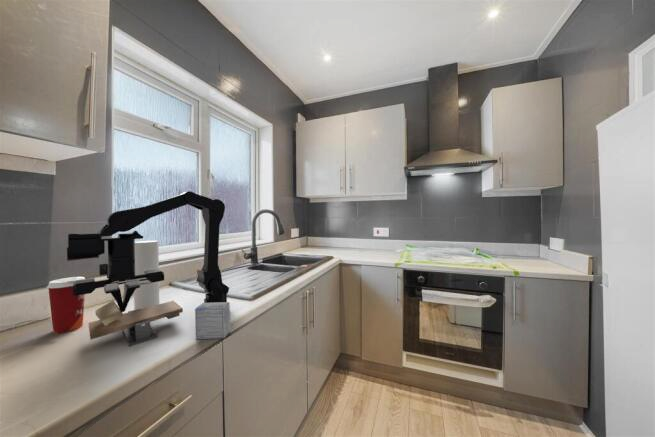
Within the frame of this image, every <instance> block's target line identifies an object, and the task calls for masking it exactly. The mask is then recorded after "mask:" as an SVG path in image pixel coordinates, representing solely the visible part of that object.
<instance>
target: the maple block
mask: <svg viewBox="0 0 655 437" xmlns="http://www.w3.org/2000/svg"><path fill="white" fill-rule="evenodd" d="M116 303H117V302H116V301H114V300H111V301H110V302H107V303H106V304H105V305H103V306H100V307H99V308H97V309H95V313H94V314H95V316H96V317H97V318H98V320H101V322H102V323H103V324H104V325H105V326H107V325H108V324H110V323H111V322H113V321H115V320H116V319H118V318H120V317H121V316H123V314H124V313H123V312H121V311H120V308H119V306H118V304H116Z"/></svg>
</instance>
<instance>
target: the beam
mask: <svg viewBox="0 0 655 437" xmlns="http://www.w3.org/2000/svg"><path fill="white" fill-rule="evenodd" d="M131 311H132V310H131ZM183 311H184V310H183V307H181V306H180V305H179V304H178V303H177V302H175V301H174V300H171V301H166V302H164V303H159V304H158V305H155V306H151V307H147V308H143V309H139V310H136V311H132V312H124V313H123V316H121V317H120V318H118V319H116V320H115V321H113V322H111V323H110V324H108V325H107V326H105V325H104V324H103V323H102V322H101V320H100V319H97V320H94V321H91V322H88V332H89V338H90V341H91V340H94V339H98V338H101V337H104V336H107V335H111V334H114V333H117V332H118V333H119V332H121V331H123V330H125V329H128V328H131V327H135V324H136V323H140V322H144V321H148V320H149V321H150V323H151V322H154V321H158V320H161V319H165V318H167V319H168V320H171V319H173V318H177V317H179V316H180V314H181V313H183Z"/></svg>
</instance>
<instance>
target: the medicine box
mask: <svg viewBox="0 0 655 437" xmlns="http://www.w3.org/2000/svg"><path fill="white" fill-rule="evenodd" d="M230 307H231V306H230V302H228V301H227V302H215V303H204V302H202V303H201V304H200V305H198V306H197V307H196V308H194V320H195V321H194V322H195V325H194V326H195V340H206V339H207V340H211V339H212V340H213V339H225V338H226V337H227V336H228V334H229V332H231V314H230V312H231V310H230Z"/></svg>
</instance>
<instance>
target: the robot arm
mask: <svg viewBox="0 0 655 437" xmlns="http://www.w3.org/2000/svg"><path fill="white" fill-rule="evenodd" d="M187 205H188V206H191V207H193V208H194V209H197V210H199V211H201V214H202V215H201V216H202V219H203V221H204V226H205V227H204V232H205V233H204V248H203V249H204V253H203V254H204V255H203V265H202V268H201V269H197V270H196V272H197V274H196V275H197V276H196V282H197V283H198V286H199V287H201V289H203V290H204V292H205V298H204V299H203V303H215V302H228V294H229V290H230V287H229V286H228V285H226V284H225V283H224V282H223V277H222V272H221V269H220V266H219V248H220V247H219V246H220V225H221V223H222V221H223V218H224V215H225V210H226V205H225V203H224V201H223V200H221V199H219V198H218V199H217V198H214V199H212V198H210V197H207V196H205V195H202V194H198V193H196V192H193V191H185V192H182V193H180V194H178V195H176V196H173V197H172V196H171V197H169V198H167V199H166V198H165V199H163V200H160V201H156V202H154V203H151V204H147V205H145V206H141V207H135V208H134V207H133V208H129V209H124V210H123V209H122V210H118V211H113V212H112V213H110V214H109V215H108V216H107V218H106V224H105V225H104V226H103V227H102V228H101V229H99V231H98V232H96V233H95V232H94V233H74V232H73V233H69V234H68V235H67V238H68V239H67V241H68V242H67V246H66V253H67V254H66V258H67V262H70V261H71V262H72V261H73V262H74V261H83V260H92V259H99V258H100V256H101V255H105V252H106V249H105V248H106V247H105V244H106V243H105V242H107V263H102V264H101V263H99V264H98V275H99V277H103V276H104V277H105V276H106V279H103V280H101V279H100V280H96V279H95V278H94V277H93V278H87V279H86V278H85V280H78V281H75V282H74V283H73V296H78V295H83V294H85V295H88V294H92V293H93V292H94V291H95V290H96V289H101V288H103V291H104V294H111V296H112V297H113V299H114V300H115V303H117V304H116V305H117V306H118V307H119V308H120V311H121V312H122V313H123V312H124V313H125V311H126V310H127V307H128V304H129V302H130V300H131V299H132V296H133V295H134V291H135V289H136V288H140V285H139V283H140V281H144V280H149V281H150V282H152V283H153V282H159V283H160V282H162V281H163V282H164V281H165V272H164V271H162V270H160V268H159V269H156V270H149V271H145V273H144V274H141V275H135V242H136V241H135V240H140V239H141V240H142V239H144V236H143V235H142V234H140V233H139V232H138V231H137V230H133V229H134V228H136V227H138V226H140V225H141V224H143V223H145V222H146V221H147V220H150V219H152V218H155V217H156V216H160V215H163V214H166V213H167V212H170V211H173V210H175V209H178V208H181V207H184V206H187ZM131 230H133V231H132V232H131V233H130V232H129V231H131ZM119 232H121V233H119ZM124 232H129V233H124ZM115 234H118V235H117V237H111V236H115ZM104 237H105V238H104ZM120 285H123V295H122V293H121V292H122V291H121V288H120Z"/></svg>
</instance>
